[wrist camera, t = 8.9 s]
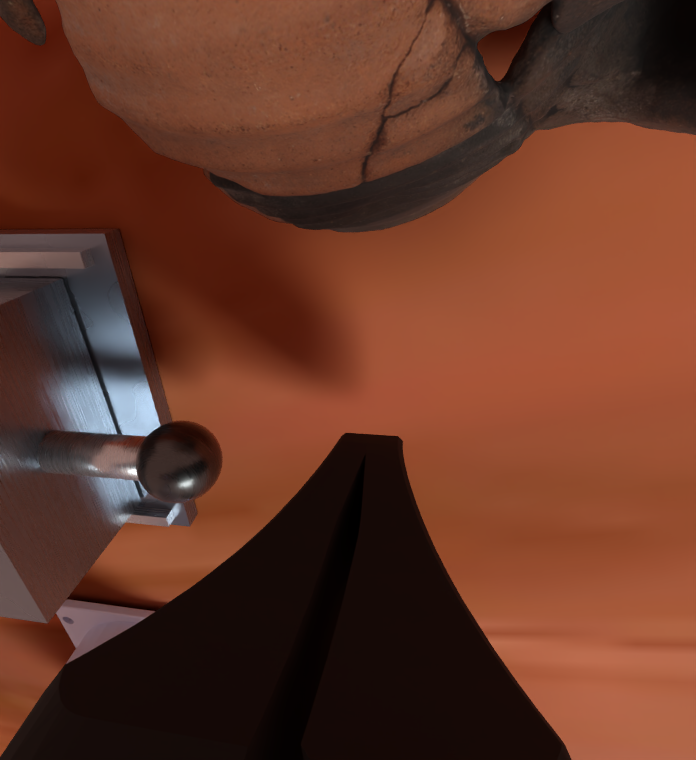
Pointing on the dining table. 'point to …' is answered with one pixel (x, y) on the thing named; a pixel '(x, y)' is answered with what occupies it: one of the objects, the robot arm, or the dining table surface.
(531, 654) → the dining table surface
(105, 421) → the jaw
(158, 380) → the vise
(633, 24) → the pottery mug
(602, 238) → the dining table surface
